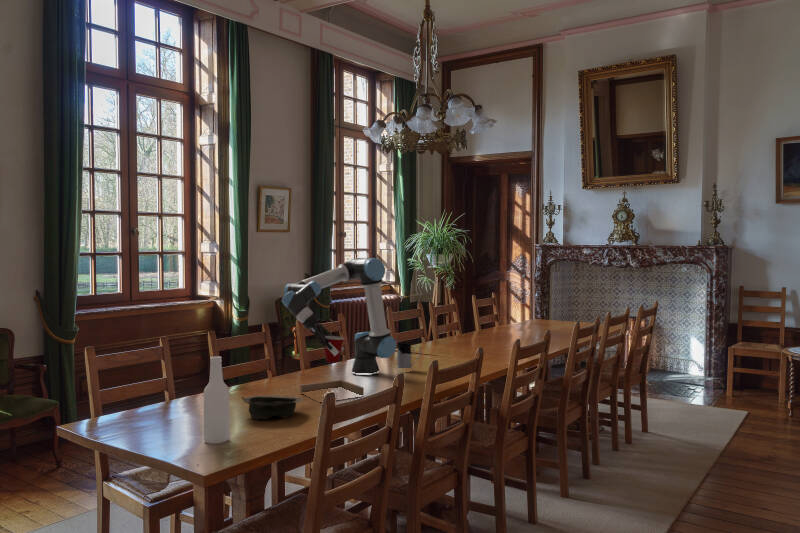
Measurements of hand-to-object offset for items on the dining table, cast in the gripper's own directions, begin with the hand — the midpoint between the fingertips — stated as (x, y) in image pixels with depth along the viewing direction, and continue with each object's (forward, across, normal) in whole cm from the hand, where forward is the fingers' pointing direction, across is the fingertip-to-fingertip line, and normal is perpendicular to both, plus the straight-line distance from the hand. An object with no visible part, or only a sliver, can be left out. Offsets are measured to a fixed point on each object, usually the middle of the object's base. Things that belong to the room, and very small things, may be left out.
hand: (339, 352), depth 302 cm
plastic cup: (+1, 0, -6) cm, 6 cm away
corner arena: (+12, +5, -16) cm, 20 cm away
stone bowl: (+2, +43, -27) cm, 51 cm away
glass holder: (+31, -61, +5) cm, 69 cm away
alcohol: (-3, +80, -32) cm, 86 cm away
